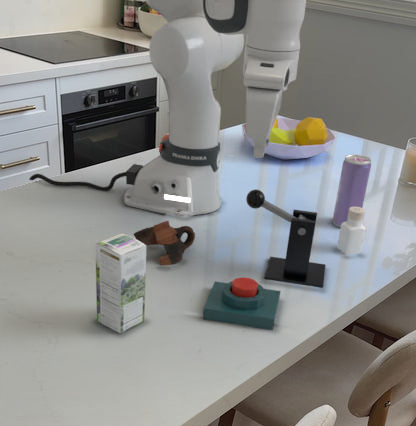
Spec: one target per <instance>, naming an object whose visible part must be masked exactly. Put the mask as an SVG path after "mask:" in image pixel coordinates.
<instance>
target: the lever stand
mask: <svg viewBox="0 0 416 426" xmlns="http://www.w3.org/2000/svg"><path fill="white" fill-rule="evenodd" d="M300 214H301V215H303V216H304V217H306V218H308V219H310V220H305V219H298V217H299V215H300ZM292 215H293V216H295V217H296V218H292V219H291V222H290V225H289V232H288V233H289V234H288V238H287V239H288V240H287V247H286V252H285V253H286V254H285V258H283V257H276V256H269V260H268V265H267V267H266V271H265V275H264V280H268V281H276V282H282V283H288V284H296V285H301V286H302V285H303V286H309V287H314V288H321V289H323V288H324V282H325V272H326V264H325V263H318V262H313V261H312V262H311V261H310V259H311V253H312V248H313V242H314V236H315V230H316V223H317V217H318V212H316V211H308V210H302V209H301V210H300V209H293V211H292Z"/></svg>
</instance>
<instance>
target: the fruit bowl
mask: <svg viewBox="0 0 416 426" xmlns="http://www.w3.org/2000/svg"><path fill="white" fill-rule="evenodd" d="M241 128H242V133H243V137H244V141H245V142H246V143H247V144H248V145H250V146H251V147H252V148H254V139H253V138H249V137H247V133H246V123H243V124H241ZM336 140H337V136H336V135H335V134H334V132H333V130H331V128H328V127H327V125H326V124H325V122H324V121H323V119H322V118H318V117H311V116H306V117H305V118H304V119H302V120H299V119H291V118H286V117H285V118H284V117H277V118H276V120H275V123H274V125H273V128H272V130H271V133H270V140H269V144H268V146H265V154H264V155H269V156H271V157H274V158H276V159H279V160H294V159H295V160H296V159H309V158H311V157H316V156H319V155H321V154H325V153H327V152H328V151H329V149H330V148H331V146H332V145H333V144H334V142H336Z"/></svg>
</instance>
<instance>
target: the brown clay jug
mask: <svg viewBox="0 0 416 426" xmlns="http://www.w3.org/2000/svg"><path fill="white" fill-rule="evenodd" d="M183 234H186V235H187V237H186V239H185V241H183V240H182V236H183ZM133 237H134V238H135V239H137V240H138V241H140V242H142V243H143V244H145V245H146V246H156V245H160V246H163V248H164V249H165V252H166V253H165V254H164V255H162V256H159V257H158V258H157V260H158V263H159V265H160V266H172V265H173V266H174V265H176V264H179V263H180V262H181V261H182V260H183V256H184V255H183V254H184V253H185V251H186V250H187V249H189V248H190V247H191V246H192V245H193V243H194V241H195V238H196V233H195V231H194V228H192V227H191V226H189V225H182V226H179V227H173V226H171V225H170V223H169V221H168V220H165V221H161V222H159V223H157V224H154V225H153V226H149V227H145V228H142V229H140V230H138V231H136V232H134V233H133Z"/></svg>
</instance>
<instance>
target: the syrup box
mask: <svg viewBox="0 0 416 426" xmlns="http://www.w3.org/2000/svg"><path fill="white" fill-rule="evenodd" d="M146 273H147V245H145V244H144V243H142V242H140V241H138V240H137V239H136V238H135V237H134V236H130V235H127V234H124V233H119V234H116V235H114V236H111V237H109V238H106V239H104V240H101V241H99V242H96V243H95V284H96V285H95V291H96V293H95V294H96V321H97V323H99V324H101V325H103V326H105V327H107V328H109V329H110V330H112V331H114V332H116V333H118V334H123V333H125V332H127V331H128V330H131V329H132V328H135V327H137V326H138V325H141V324H143V323H144V322H145V309H146V307H145V305H146V304H145V303H146V277H147V276H146V275H147V274H146Z"/></svg>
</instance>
